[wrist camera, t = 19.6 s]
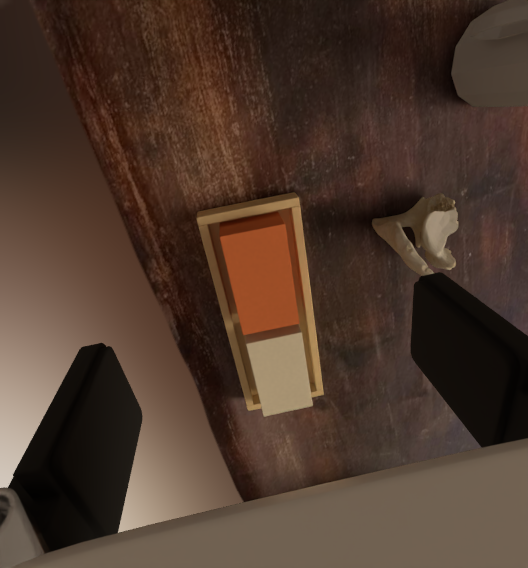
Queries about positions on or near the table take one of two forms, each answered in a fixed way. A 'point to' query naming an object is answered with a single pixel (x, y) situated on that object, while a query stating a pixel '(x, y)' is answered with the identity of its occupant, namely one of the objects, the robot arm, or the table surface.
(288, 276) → the orange angular block
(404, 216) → the bone
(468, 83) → the water bottle
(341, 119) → the table surface
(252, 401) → the wooden tray
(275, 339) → the cream rectangular block
